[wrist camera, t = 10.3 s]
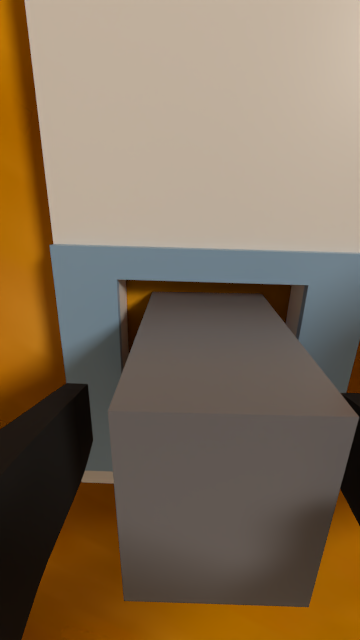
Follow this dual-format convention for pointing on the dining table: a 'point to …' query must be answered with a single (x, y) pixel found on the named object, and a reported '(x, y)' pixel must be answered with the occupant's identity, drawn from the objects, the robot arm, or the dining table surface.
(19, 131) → the dining table surface
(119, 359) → the two-tone slotted frame
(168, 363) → the plug
